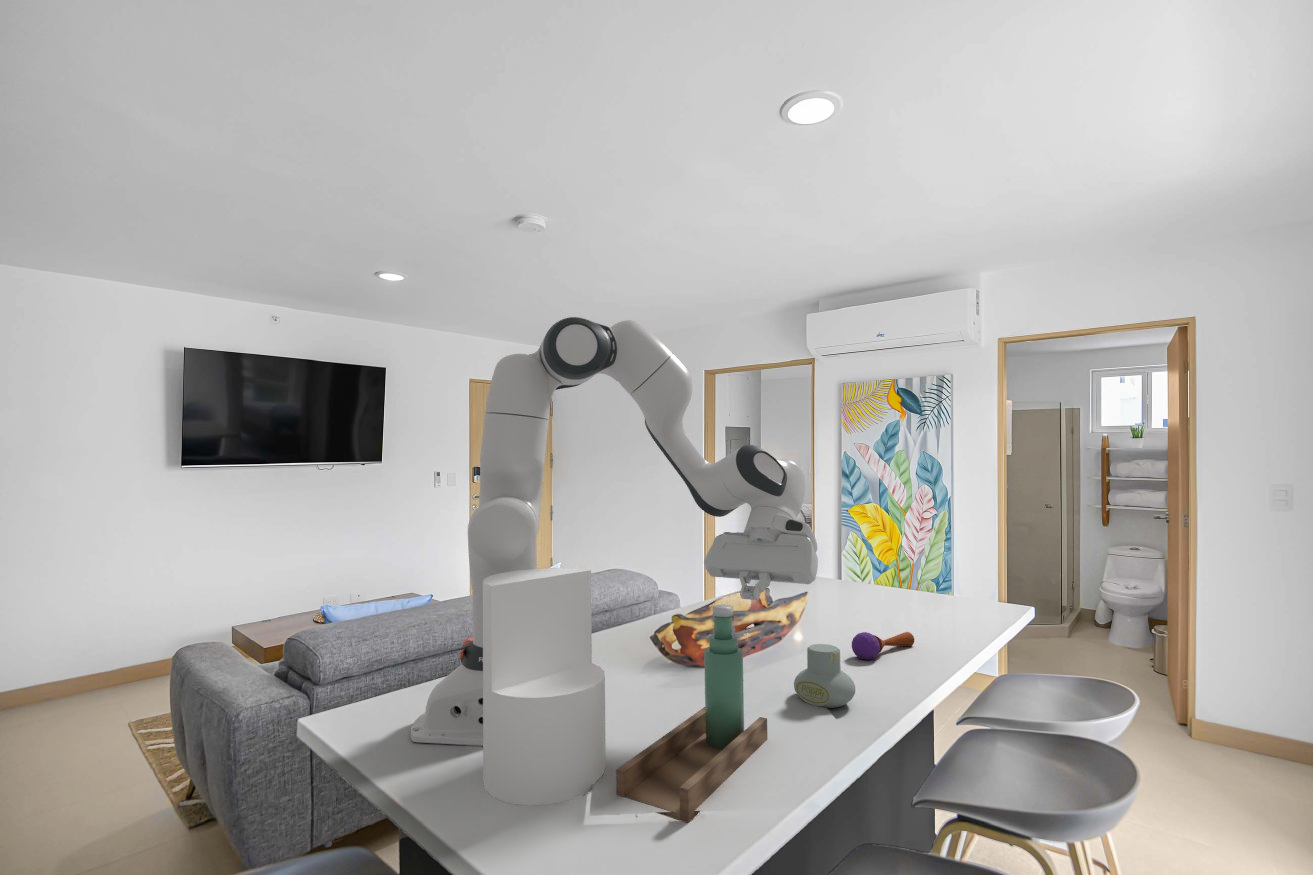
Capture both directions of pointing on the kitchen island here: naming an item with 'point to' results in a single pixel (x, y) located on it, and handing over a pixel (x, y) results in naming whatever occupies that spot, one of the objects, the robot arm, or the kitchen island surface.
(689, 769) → the u rest
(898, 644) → the purple maraca
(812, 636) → the kitchen island surface
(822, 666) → the air freshener
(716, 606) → the bottle
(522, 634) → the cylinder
